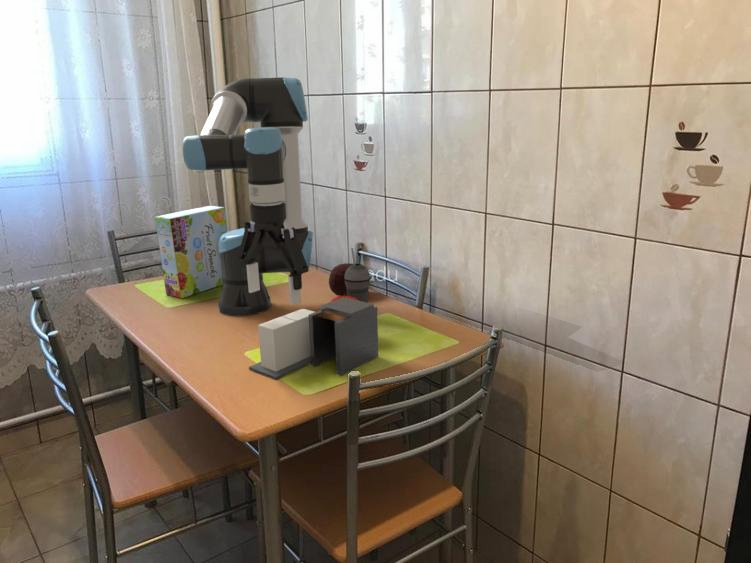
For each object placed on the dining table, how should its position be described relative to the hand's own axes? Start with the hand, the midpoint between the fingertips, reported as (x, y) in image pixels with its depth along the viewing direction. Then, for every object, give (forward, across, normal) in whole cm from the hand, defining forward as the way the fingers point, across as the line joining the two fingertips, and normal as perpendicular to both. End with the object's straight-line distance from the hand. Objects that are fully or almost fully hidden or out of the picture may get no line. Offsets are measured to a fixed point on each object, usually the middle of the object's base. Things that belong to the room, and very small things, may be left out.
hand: (274, 297), depth 139 cm
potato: (+18, -22, +49) cm, 57 cm away
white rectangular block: (+16, 0, +3) cm, 16 cm away
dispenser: (+17, +11, +11) cm, 23 cm away
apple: (+17, +1, +22) cm, 28 cm away
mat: (+17, +1, +2) cm, 17 cm away
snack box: (+19, -67, +26) cm, 75 cm away
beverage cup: (+18, -6, +35) cm, 40 cm away
